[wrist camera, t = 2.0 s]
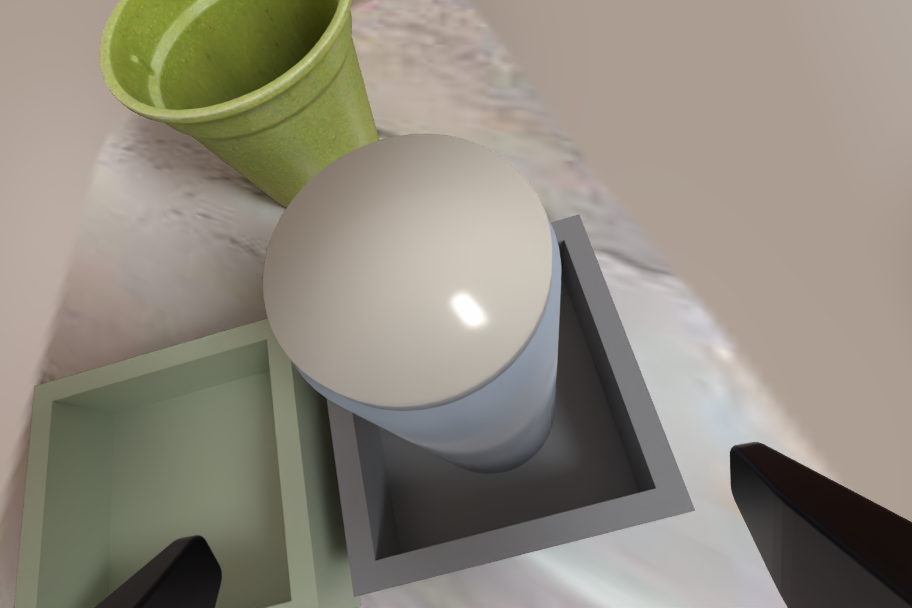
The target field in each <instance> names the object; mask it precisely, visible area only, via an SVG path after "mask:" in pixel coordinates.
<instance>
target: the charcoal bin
mask: <svg viewBox="0 0 912 608" xmlns="http://www.w3.org/2000/svg"><path fill="white" fill-rule="evenodd" d="M551 225H552V227H553V229H554V232H555V235H556V239H557V242H558V246H559V251H560V259H561V295H560V316H559V337H558V358H557V380H556V401H555V416H554V422H553V425H552V429H551V431H550V434H549V436H548V438H547V440H546V441H545V443H544V445H543V446H542V447H541V449H540V450H539V451H538V452H537V453H536V454H535V455H534V456H533V457H532V458H531V459H530V460H528V461H527V462H526V463H524V464H523V465H521V466H519V467H517V468H515V469H512V470H509V471H506V472H502V473H497V474H481V473H475V472H471V471H468V470H465V469H462V468H460V467H458V466H456V465H454V464H452V463H450V462H448V461H446V460H444V459H442V458H440V457H439V456H437V455H435V454H433V453H431V452H429V451H427V450H425V449H423V448H421V447H419V446H417V445H415V444H413V443H411V442H409V441H407V440H405V439H403V438H401V437H399V436H397V435H396V434H394V433H392V432H390V431H388V430H386V429H384V428H382V427H380V426H378V425H376V424H374V423H372V422H370V421H368V420H366V419H364V418H362V417H360V416H358V415H356V414H355V413H353V412H351V411H349V410H347V409H345V408H343V407H341V406H339V405H337V404H336V403H334V402H332V401H330V400H328V399H327V405H328V412H329V419H330V427H331V434H332V441H333V449H334V456H335V463H336V471H337V478H338V485H339V493H340V500H341V507H342V514H343V522H344V529H345V536H346V544H347V551H348V558H349V566H350V573H351V580H352V588H353V595H354V597H356V596H360V595H364V594H368V593H371V592H375V591H379V590H383V589H387V588H391V587H395V586H399V585H403V584H407V583H411V582H415V581H419V580H423V579H427V578H431V577H435V576H439V575H443V574H446V573H450V572H454V571H458V570H462V569H466V568H470V567H474V566H478V565H482V564H486V563H490V562H494V561H498V560H502V559H506V558H510V557H514V556H518V555H521V554H525V553H529V552H533V551H537V550H541V549H545V548H549V547H553V546H557V545H561V544H565V543H569V542H573V541H577V540H581V539H585V538H589V537H593V536H597V535H600V534H604V533H608V532H612V531H616V530H620V529H624V528H628V527H632V526H636V525H640V524H644V523H648V522H652V521H656V520H660V519H664V518H668V517H672V516H675V515H679V514H683V513H687V512H691V511H695V509H694V507H693V504H692V502H691V499H690V496H689V494H688V491H687V489H686V486H685V484H684V481H683V479H682V476H681V473H680V471H679V468H678V466H677V463H676V461H675V458H674V456H673V453H672V450H671V448H670V445H669V443H668V440H667V438H666V435H665V433H664V430H663V427H662V425H661V422H660V420H659V417H658V415H657V412H656V410H655V407H654V404H653V402H652V399H651V397H650V394H649V392H648V389H647V387H646V384H645V381H644V379H643V376H642V374H641V371H640V369H639V366H638V364H637V361H636V358H635V356H634V353H633V351H632V348H631V346H630V343H629V341H628V338H627V336H626V333H625V330H624V328H623V325H622V323H621V320H620V318H619V315H618V313H617V310H616V307H615V305H614V302H613V300H612V297H611V295H610V292H609V290H608V287H607V284H606V282H605V279H604V277H603V274H602V272H601V269H600V267H599V264H598V261H597V259H596V256H595V254H594V251H593V249H592V246H591V244H590V241H589V238H588V236H587V233H586V231H585V228H584V226H583V223H582V221H581V218H580V215H576V216H572V217H569V218H566V219H562V220H559V221H555V222H552V223H551Z"/></svg>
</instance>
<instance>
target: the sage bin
mask: <svg viewBox="0 0 912 608" xmlns="http://www.w3.org/2000/svg"><path fill="white" fill-rule="evenodd" d="M194 535H201V536H202V537H204V538H205V539H206V541H207V543H208V545H209V546H210V548H211V550H212V552H213V554H214V555H215V557H216V559H217V561H218V563H219V565H220V567H221V571H222V581H221V586H220V590H219V594H218V598H217V602H216V606H215V608H357V607H359V606H360V599H359V596H356V597H354V595H353V588H352V580H351V573H350V566H349V558H348V551H347V544H346V536H345V529H344V522H343V514H342V507H341V500H340V493H339V485H338V478H337V471H336V463H335V456H334V449H333V441H332V434H331V427H330V419H329V412H328V405H327V398H326V397H324V396H323V395H322V394H320V393H319V392H318V391H317V390H315V389H314V388H313V387H312V386H311V385H310V384H309V383H308V382H307V381H306V380H305V379H304V378H303V377H302V376H301V374H300V373H299V371H298V370H297V369H296V367H295V366H294V364H293V363H292V362H291V360H290V358H289V357H288V356H287V354H286V353H285V351H284V350H283V349H282V347H281V346H280V344H279V343H278V341H277V339H276V337H275V335H274V333H273V331H272V329H271V326H270V323H269V320H268V318H267V319H263V320H260V321H257V322H253V323H250V324H246V325H243V326H239V327H236V328H233V329H229V330H226V331H222V332H219V333H215V334H212V335H208V336H205V337H202V338H198V339H195V340H191V341H188V342H184V343H181V344H178V345H174V346H171V347H167V348H164V349H160V350H157V351H154V352H150V353H147V354H143V355H140V356H136V357H133V358H130V359H126V360H123V361H119V362H116V363H112V364H109V365H106V366H102V367H99V368H95V369H92V370H88V371H85V372H82V373H78V374H75V375H71V376H68V377H64V378H61V379H57V380H54V381H51V382H47V383H44V384H40V385H37V386H35V387H34V398H33V409H32V419H31V430H30V441H29V451H28V462H27V473H26V483H25V494H24V505H23V516H22V526H21V537H20V548H19V558H18V569H17V580H16V590H15V601H14V608H94V607H96V606H97V605H98V604H99V603H100V602H101V601H103V600H104V599H105V598H106V597H107V596H109V595H110V594H111V593H112V592H113V591H115V590H116V589H117V588H118V587H119V586H121V585H122V584H123V583H124V582H125V581H127V580H128V579H129V578H130V577H131V576H133V575H134V574H135V573H136V572H137V571H139V570H140V569H141V568H142V567H143V566H145V565H146V564H147V563H148V562H149V561H151V560H152V559H153V558H154V557H155V556H157V555H158V554H159V553H160V552H161V551H162V550H164V549H165V548H166V547H167V546H168V545H170V544H171V543H172V542H173V541H175V540H176V539H179V538H182V537H188V536H194Z"/></svg>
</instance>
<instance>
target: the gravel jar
mask: <svg viewBox="0 0 912 608" xmlns="http://www.w3.org/2000/svg"><path fill="white" fill-rule="evenodd" d="M560 295H561V259H560V251H559V246H558V242H557V239H556V235H555V232H554V229H553V227H552V225H551V223H550V221H549V218H548V216H547V214H546V212H545V210H544V208H543V206H542V203H541V201H540V199H539V197H538V195H537V194H536V192H535V191H534V189H533V187H532V186H531V184H530V183H529V182H528V180H527V179H526V178H525V177H524V176H523V175H522V174H521V172H520V171H519V170H518V169H517V168H515V167H514V166H513V165H512V164H511V163H510V162H508V161H507V160H506V159H505V158H503V157H501V156H500V155H498V154H497V153H495V152H494V151H492V150H490V149H488V148H486V147H484V146H482V145H479V144H477V143H474V142H471V141H468V140H465V139H462V138H457V137H452V136H447V135H438V134H410V135H403V136H396V137H391V138H387V139H383V140H379V141H376V142H373V143H370V144H367V145H365V146H362V147H360V148H358V149H355V150H353V151H351V152H349V153H347V154H345V155H344V156H342V157H340V158H339V159H337V160H335V161H334V162H332V163H331V164H329V165H328V166H327V167H325V168H324V169H323V170H321V171H320V172H319V173H318V174H316V175H315V176H314V177H313V178H312V179H311V180H310V181H309V182H308V183H307V184H306V185H305V186H304V187H303V188H302V189H301V190H300V191H299V193H298V194H297V195H296V196H295V197H294V198H293V200H292V201H291V203H290V204H289V206H288V207H287V208H286V210H285V211H284V213H283V214H282V216H281V218H280V220H279V222H278V224H277V226H276V228H275V230H274V233H273V235H272V238H271V241H270V243H269V246H268V250H267V254H266V258H265V263H264V272H263V297H264V303H265V309H266V313H267V317H268V320H269V323H270V326H271V329H272V331H273V333H274V335H275V337H276V339H277V341H278V343H279V344H280V346H281V347H282V349H283V350H284V351H285V353H286V354H287V356H288V357H289V358H290V360H291V362H292V363H293V364H294V366H295V367H296V369H297V370H298V371H299V373H300V374H301V376H302V377H303V378H304V379H305V380H306V381H307V382H308V383H309V384H310V385H311V386H312V387H313V388H314V389H315V390H317V391H318V392H319V393H320V394H322V395H323V396H324V397H326V398H327V399H328V400H330V401H332V402H334V403H336V404H337V405H339V406H341V407H343V408H345V409H347V410H349V411H351V412H353V413H355V414H356V415H358V416H360V417H362V418H364V419H366V420H368V421H370V422H372V423H374V424H376V425H378V426H380V427H382V428H384V429H386V430H388V431H390V432H392V433H394V434H396V435H397V436H399V437H401V438H403V439H405V440H407V441H409V442H411V443H413V444H415V445H417V446H419V447H421V448H423V449H425V450H427V451H429V452H431V453H433V454H435V455H437V456H439V457H440V458H442V459H444V460H446V461H448V462H450V463H452V464H454V465H456V466H458V467H460V468H462V469H465V470H468V471H471V472H475V473H481V474H497V473H502V472H506V471H509V470H512V469H515V468H517V467H519V466H521V465H523V464H524V463H526V462H527V461H528V460H530V459H531V458H532V457H533V456H534V455H535V454H536V453H537V452H538V451H539V450H540V449H541V447H542V446H543V445H544V443H545V441H546V440H547V438H548V436H549V434H550V431H551V429H552V425H553V422H554V416H555V401H556V380H557V358H558V337H559V316H560Z"/></svg>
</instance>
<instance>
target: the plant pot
mask: <svg viewBox="0 0 912 608" xmlns="http://www.w3.org/2000/svg"><path fill="white" fill-rule="evenodd" d="M351 3H352V0H120V1H119V2H118V4H117V5H116V6H115V8H114V10H113V12H112V13H111V15H110V17H109V19H108V21H107V23H106V26H105V28H104V32H103V35H102V39H101V49H100V66H101V70H102V73H103V77H104V80H105V83H106V85H107V87H108V88H109V90H110V91H111V92H112V94H113V95H114V96H115V97H116V98H117V99H118V100H119V101H120V102H121V103H122V104H124V105H125V106H126V107H127V108H129V109H130V110H131V111H133V112H135V113H137V114H139V115H141V116H143V117H146V118H148V119H151V120H155V121H159V122H164V123H166V124H167V125H169V126H170V127H172V128H174V129H176V130H178V131H180V132H182V133H184V134H187V135H190V136H192V137H194V138H195V139H196V140H198V141H199V142H200V143H201V144H203V145H204V146H205V147H207V148H208V149H209V150H211V151H212V152H213V153H215V154H216V155H217V156H218V157H220V158H221V159H222V160H224V161H225V162H226V163H227V164H229V165H230V166H231V167H233V168H234V169H235V170H237V171H238V172H239V173H240V174H242V175H243V176H244V177H246V178H247V179H248V180H249V181H251V182H252V183H253V184H254V185H255V186H257V187H258V188H259V189H261V190H262V191H263V192H264V193H266V194H267V195H268V196H269V197H271V198H272V199H273V200H275V201H276V202H277V203H279V204H280V205H282V206H284V207H286V208H287V207H288V206H289V204H290V203H291V201H292V200H293V198H294V197H295V196H296V195H297V194H298V193H299V191H300V190H301V189H302V188H303V187H304V186H305V185H306V184H307V183H308V182H309V181H310V180H311V179H312V178H313V177H314V176H315V175H316V174H318V173H319V172H320V171H321V170H323V169H324V168H325V167H327V166H328V165H329V164H331V163H332V162H334V161H335V160H337V159H339V158H340V157H342V156H344V155H345V154H347V153H349V152H351V151H353V150H355V149H358V148H360V147H362V146H365V145H367V144H370V143H373V142H376V141H379V138H378V134H377V130H376V126H375V123H374V119H373V115H372V112H371V108H370V104H369V101H368V97H367V93H366V89H365V85H364V81H363V78H362V74H361V70H360V66H359V63H358V59H357V55H356V51H355V47H354V43H353V39H352V36H351V34H352V17H351V11H350V7H351Z"/></svg>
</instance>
